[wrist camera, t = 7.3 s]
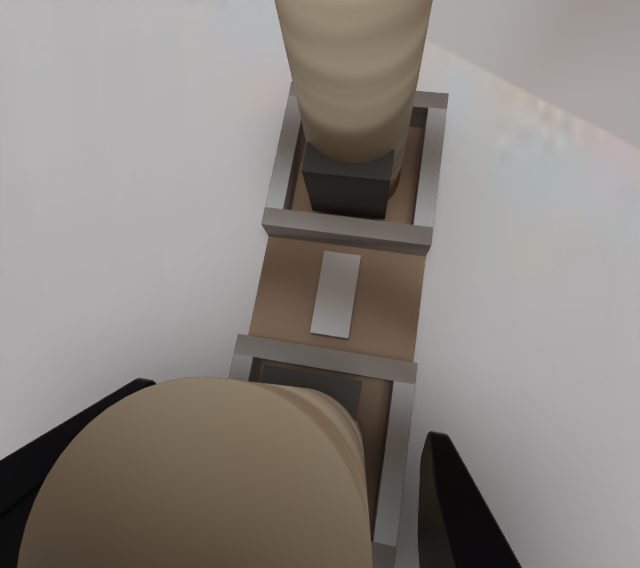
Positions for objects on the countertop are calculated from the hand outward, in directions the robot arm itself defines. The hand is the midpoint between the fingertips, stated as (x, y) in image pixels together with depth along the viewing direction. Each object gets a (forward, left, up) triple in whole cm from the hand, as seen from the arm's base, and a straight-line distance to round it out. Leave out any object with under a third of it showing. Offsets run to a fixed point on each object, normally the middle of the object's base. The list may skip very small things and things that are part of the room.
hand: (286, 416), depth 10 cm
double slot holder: (+4, -2, -9) cm, 10 cm away
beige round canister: (-1, +1, -8) cm, 8 cm away
